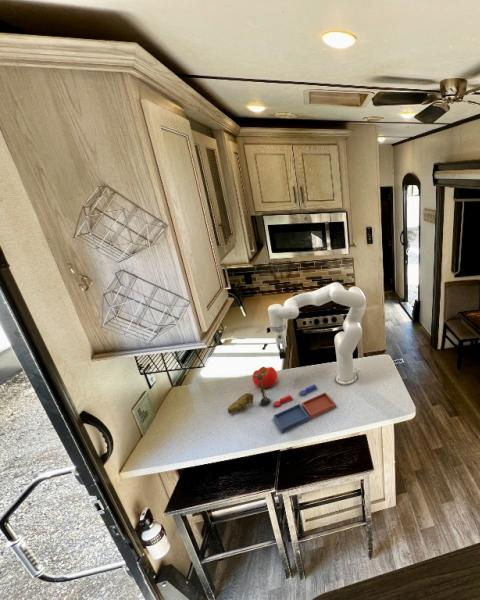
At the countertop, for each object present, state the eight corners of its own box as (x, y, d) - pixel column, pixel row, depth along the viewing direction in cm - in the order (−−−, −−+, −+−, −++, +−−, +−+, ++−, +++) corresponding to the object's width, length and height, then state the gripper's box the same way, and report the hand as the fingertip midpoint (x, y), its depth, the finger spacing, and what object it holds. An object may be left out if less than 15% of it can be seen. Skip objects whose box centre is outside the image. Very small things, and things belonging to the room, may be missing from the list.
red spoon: (290, 397, 187) (289, 393, 186) (292, 400, 185) (291, 397, 184) (273, 404, 182) (272, 400, 181) (275, 407, 179) (274, 404, 178)
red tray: (325, 395, 188) (325, 392, 187) (335, 407, 179) (335, 403, 178) (302, 406, 180) (301, 402, 179) (311, 419, 171) (310, 415, 170)
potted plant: (257, 406, 181) (251, 376, 173) (260, 400, 185) (253, 371, 177) (268, 405, 181) (262, 375, 173) (271, 399, 186) (264, 370, 178)
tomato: (280, 377, 205) (278, 363, 200) (274, 391, 193) (271, 376, 188) (258, 378, 204) (255, 364, 200) (251, 392, 192) (247, 377, 188)
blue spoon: (314, 386, 196) (314, 383, 195) (317, 389, 193) (316, 386, 192) (299, 393, 190) (298, 390, 189) (301, 396, 188) (301, 393, 187)
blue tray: (300, 407, 180) (299, 403, 179) (309, 420, 171) (308, 416, 170) (274, 419, 172) (273, 415, 171) (282, 433, 163) (281, 429, 162)
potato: (230, 406, 181) (227, 394, 178) (255, 401, 185) (252, 389, 182) (228, 416, 174) (225, 404, 171) (254, 410, 178) (251, 399, 174)
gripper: (287, 332, 170) (291, 360, 177) (284, 318, 184) (287, 345, 191) (271, 335, 167) (276, 363, 174) (269, 321, 182) (274, 347, 188)
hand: (282, 353), depth 182 cm, fingers open, 9 cm apart
